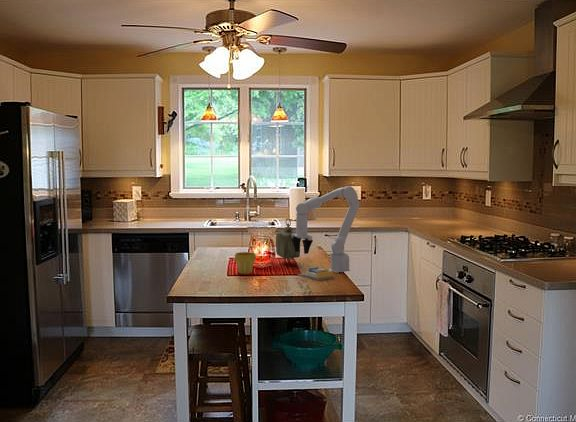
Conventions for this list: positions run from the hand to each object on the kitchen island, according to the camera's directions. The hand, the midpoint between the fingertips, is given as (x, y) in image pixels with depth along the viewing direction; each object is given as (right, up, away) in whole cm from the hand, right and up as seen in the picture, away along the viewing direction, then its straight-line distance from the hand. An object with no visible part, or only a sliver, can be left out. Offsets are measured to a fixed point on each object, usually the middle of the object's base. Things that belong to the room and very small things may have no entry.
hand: (301, 252), depth 276 cm
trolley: (+8, -10, -15) cm, 20 cm away
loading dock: (+6, -11, -13) cm, 18 cm away
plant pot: (-29, -10, -4) cm, 31 cm away
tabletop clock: (-7, -8, +20) cm, 23 cm away
